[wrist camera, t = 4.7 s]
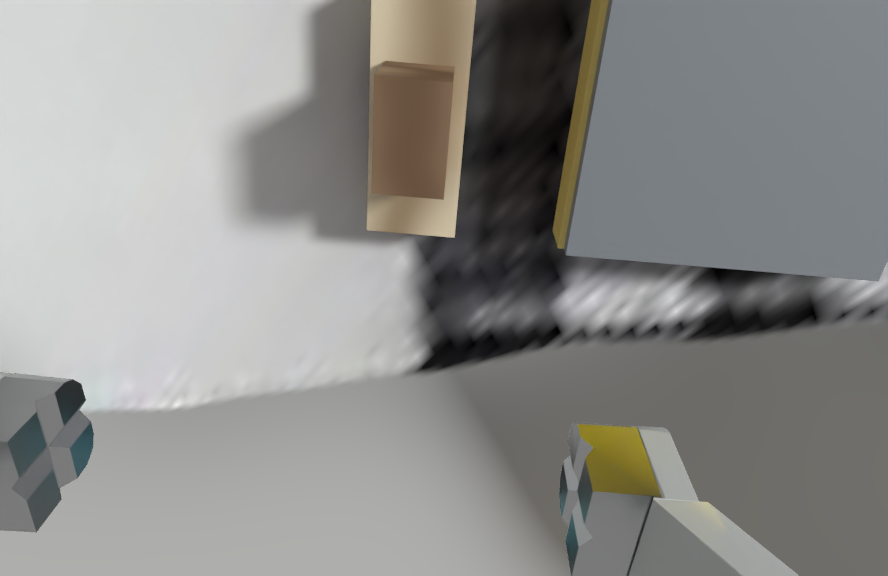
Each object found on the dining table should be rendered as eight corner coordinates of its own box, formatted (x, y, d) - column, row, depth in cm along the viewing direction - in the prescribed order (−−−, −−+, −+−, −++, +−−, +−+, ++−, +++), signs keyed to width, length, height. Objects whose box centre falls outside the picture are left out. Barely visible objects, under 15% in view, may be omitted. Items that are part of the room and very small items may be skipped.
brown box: (382, 166, 31) (371, 193, 28) (385, 60, 29) (373, 75, 26) (446, 171, 31) (443, 199, 28) (454, 66, 29) (452, 82, 26)
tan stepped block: (374, 209, 36) (366, 230, 33) (380, -28, 30) (371, -26, 27) (455, 216, 36) (454, 237, 33) (476, -20, 30) (477, -17, 27)
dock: (550, 224, 36) (559, 254, 32) (598, -58, 29) (615, -59, 26) (837, 248, 36) (878, 281, 32) (949, -27, 29) (1015, -25, 26)
